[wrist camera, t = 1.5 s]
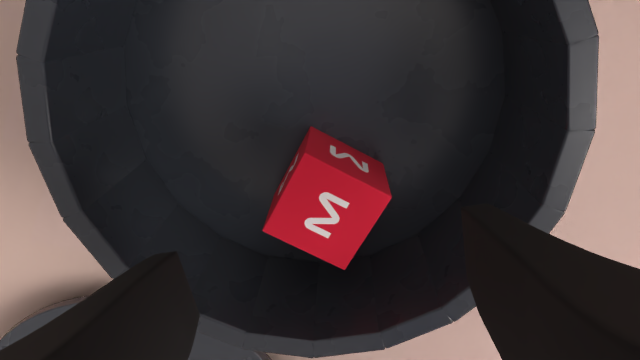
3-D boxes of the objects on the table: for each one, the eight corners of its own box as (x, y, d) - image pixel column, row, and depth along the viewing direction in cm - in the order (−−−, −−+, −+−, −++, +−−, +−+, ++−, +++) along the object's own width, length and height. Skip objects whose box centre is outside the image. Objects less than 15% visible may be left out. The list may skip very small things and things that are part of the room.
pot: (527, 243, 18) (590, 325, 13) (182, 292, 19) (134, 380, 15) (514, -203, 12) (612, -316, 8) (42, -85, 14) (-96, -124, 10)
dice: (310, 125, 16) (304, 152, 13) (383, 163, 16) (392, 197, 13) (274, 193, 17) (261, 231, 14) (343, 227, 17) (344, 270, 15)
